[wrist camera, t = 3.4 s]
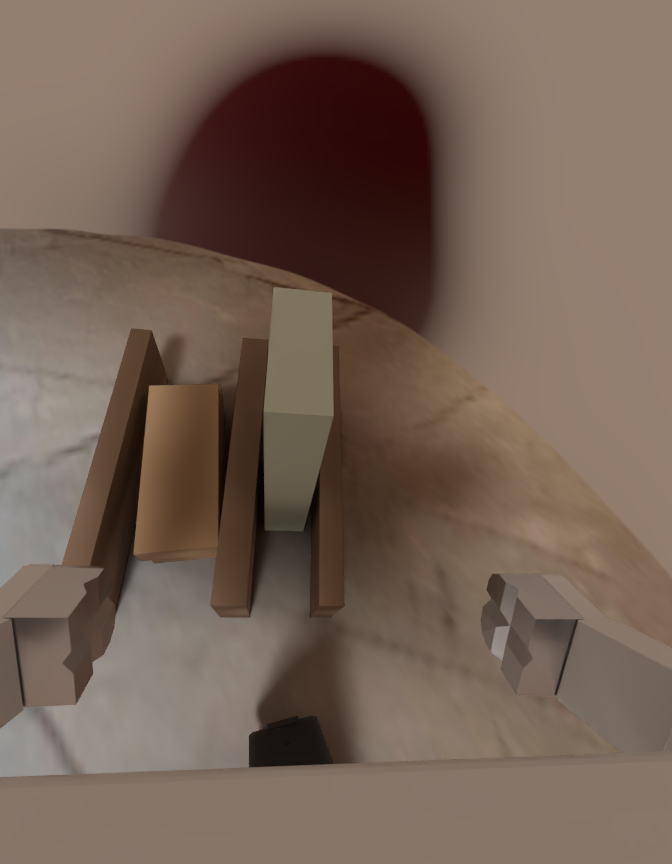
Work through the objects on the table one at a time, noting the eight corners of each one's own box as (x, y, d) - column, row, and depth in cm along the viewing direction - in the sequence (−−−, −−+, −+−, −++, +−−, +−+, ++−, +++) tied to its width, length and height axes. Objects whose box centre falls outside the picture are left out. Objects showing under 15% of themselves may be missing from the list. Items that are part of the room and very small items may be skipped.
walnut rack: (90, 617, 23) (50, 604, 19) (150, 376, 31) (131, 328, 26) (330, 617, 25) (344, 605, 20) (329, 389, 32) (338, 346, 28)
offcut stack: (154, 572, 25) (133, 554, 21) (165, 411, 30) (150, 372, 26) (225, 565, 25) (218, 546, 21) (224, 409, 31) (218, 370, 27)
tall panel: (264, 530, 26) (263, 411, 14) (270, 444, 29) (273, 286, 17) (303, 531, 27) (333, 416, 15) (305, 446, 30) (331, 292, 18)
